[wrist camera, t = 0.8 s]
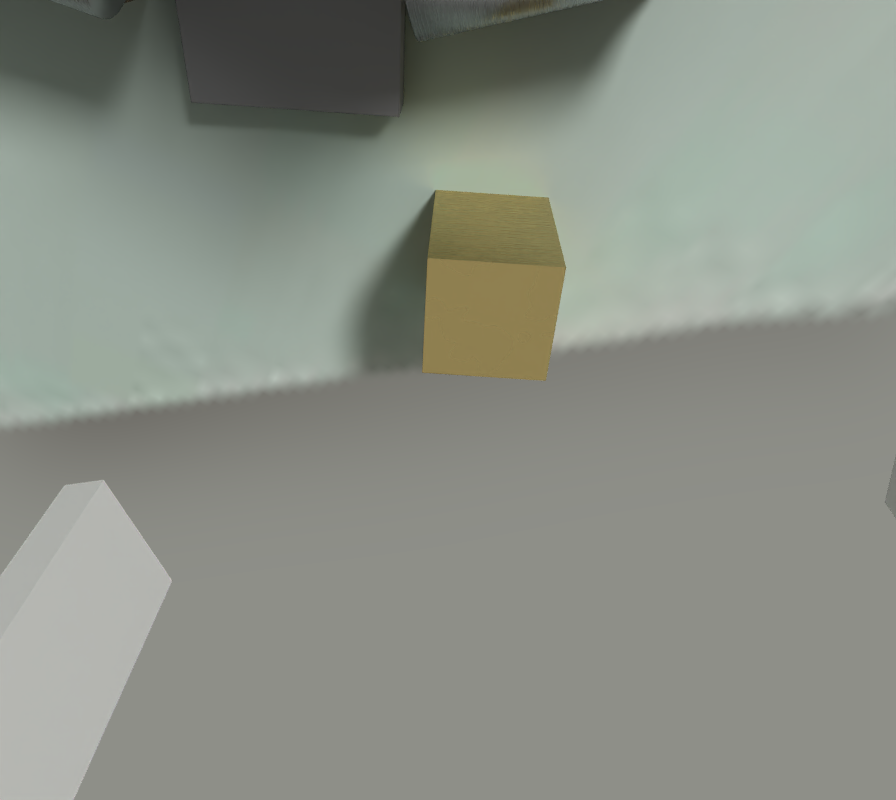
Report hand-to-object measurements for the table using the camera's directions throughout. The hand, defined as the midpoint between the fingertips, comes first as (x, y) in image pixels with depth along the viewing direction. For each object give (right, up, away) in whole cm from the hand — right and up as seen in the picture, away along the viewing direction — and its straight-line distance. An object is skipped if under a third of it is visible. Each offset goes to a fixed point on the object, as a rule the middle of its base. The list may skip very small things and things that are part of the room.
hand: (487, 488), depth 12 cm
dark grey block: (-6, +17, +14) cm, 23 cm away
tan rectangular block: (+1, +9, +20) cm, 22 cm away
